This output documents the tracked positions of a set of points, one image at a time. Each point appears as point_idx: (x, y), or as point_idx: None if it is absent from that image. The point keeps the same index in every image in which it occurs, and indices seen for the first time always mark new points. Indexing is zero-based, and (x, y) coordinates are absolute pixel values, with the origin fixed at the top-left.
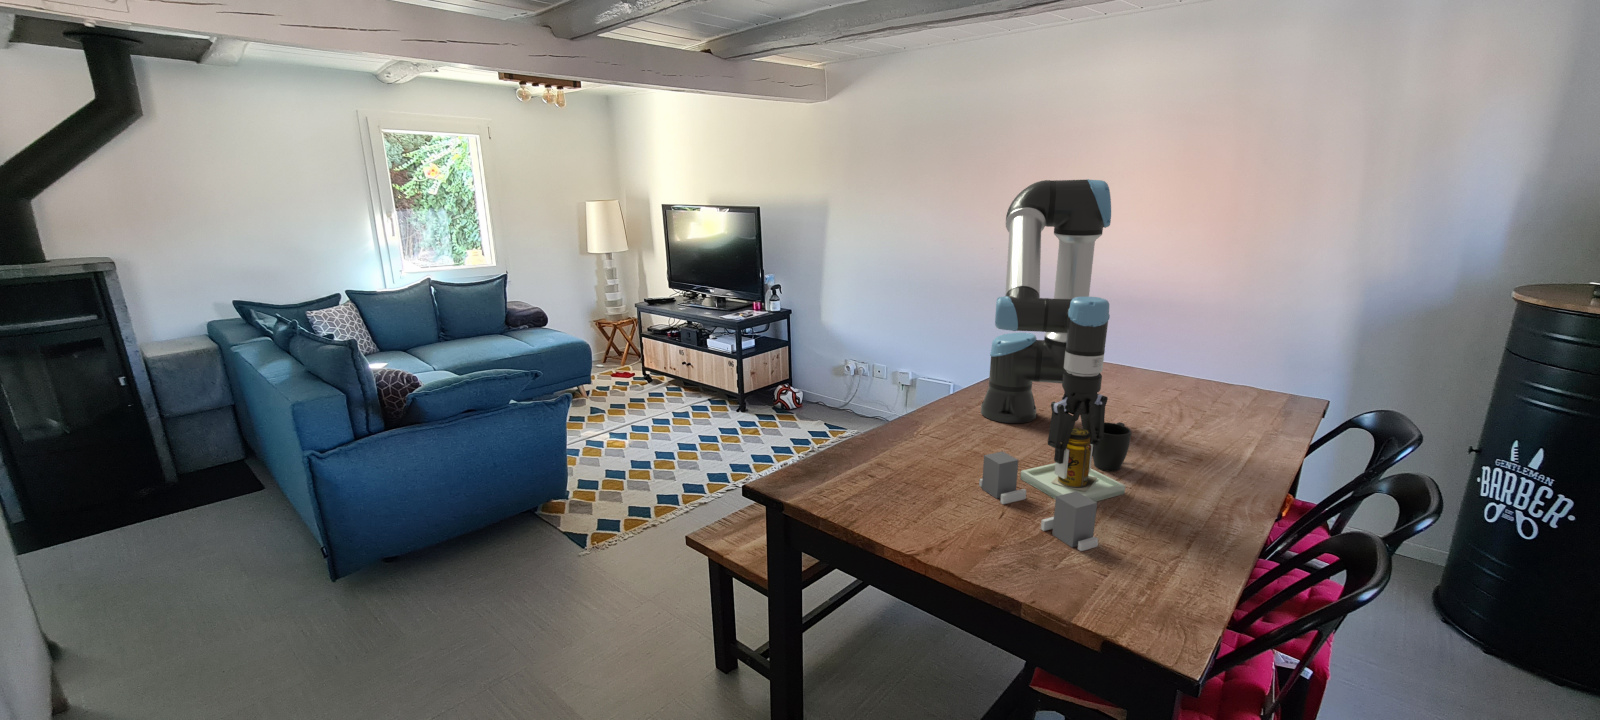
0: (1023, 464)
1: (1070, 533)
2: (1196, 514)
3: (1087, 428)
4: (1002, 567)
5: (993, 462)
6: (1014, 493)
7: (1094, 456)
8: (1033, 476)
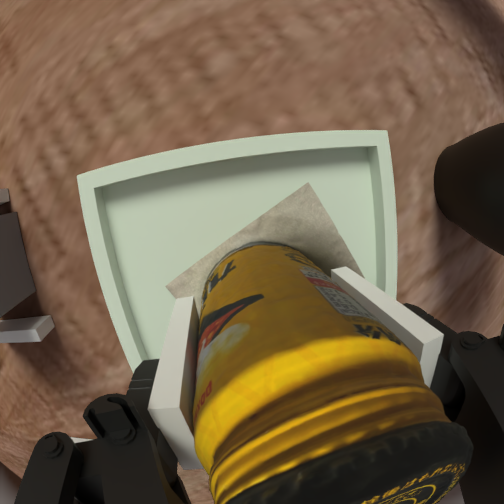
0: (192, 49)
1: None
2: None
3: (476, 478)
4: (11, 456)
5: None
6: (10, 342)
7: (456, 173)
8: (99, 245)
